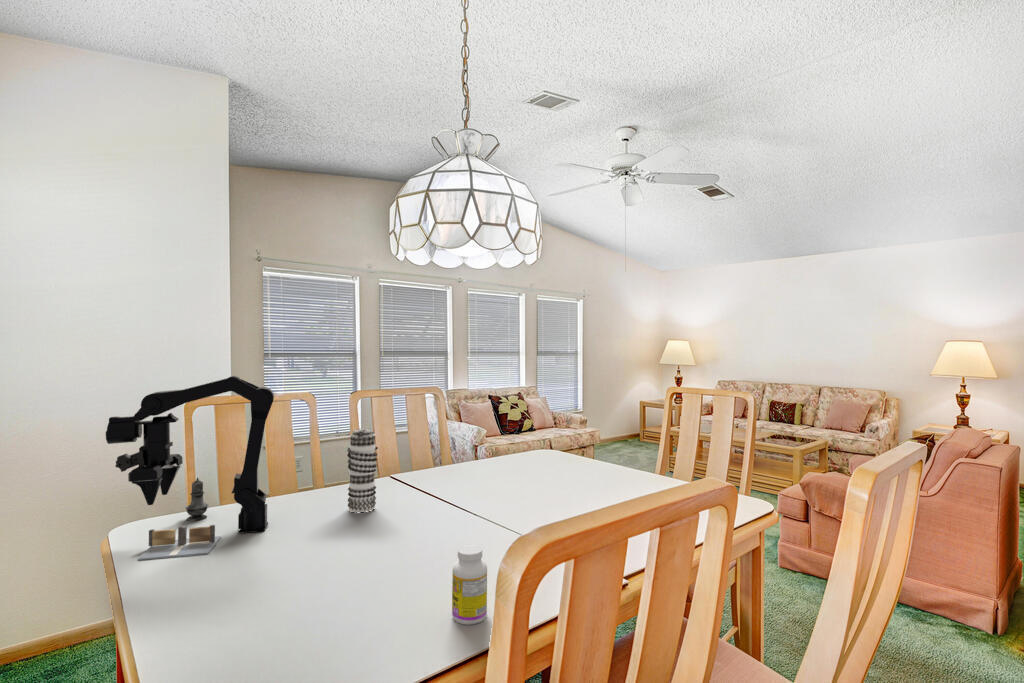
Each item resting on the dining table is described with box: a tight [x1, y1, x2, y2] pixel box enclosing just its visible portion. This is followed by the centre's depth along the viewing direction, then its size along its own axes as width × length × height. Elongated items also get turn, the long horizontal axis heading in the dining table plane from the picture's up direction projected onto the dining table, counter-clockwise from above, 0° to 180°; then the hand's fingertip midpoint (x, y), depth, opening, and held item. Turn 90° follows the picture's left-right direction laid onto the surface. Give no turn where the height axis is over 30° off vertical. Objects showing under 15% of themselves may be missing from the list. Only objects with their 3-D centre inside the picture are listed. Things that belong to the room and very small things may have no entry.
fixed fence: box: [177, 524, 216, 546], centre depth 133 cm, size 8×2×5 cm, turn 106°
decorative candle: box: [347, 428, 379, 513], centre depth 163 cm, size 9×9×25 cm
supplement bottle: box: [451, 544, 488, 626], centre depth 99 cm, size 7×7×13 cm
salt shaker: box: [185, 477, 209, 522], centre depth 153 cm, size 6×6×12 cm
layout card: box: [137, 535, 222, 561], centre depth 130 cm, size 15×11×1 cm
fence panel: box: [148, 528, 176, 547], centre depth 131 cm, size 6×1×4 cm, turn 106°
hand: (157, 499), depth 136 cm, fingers open, 9 cm apart
